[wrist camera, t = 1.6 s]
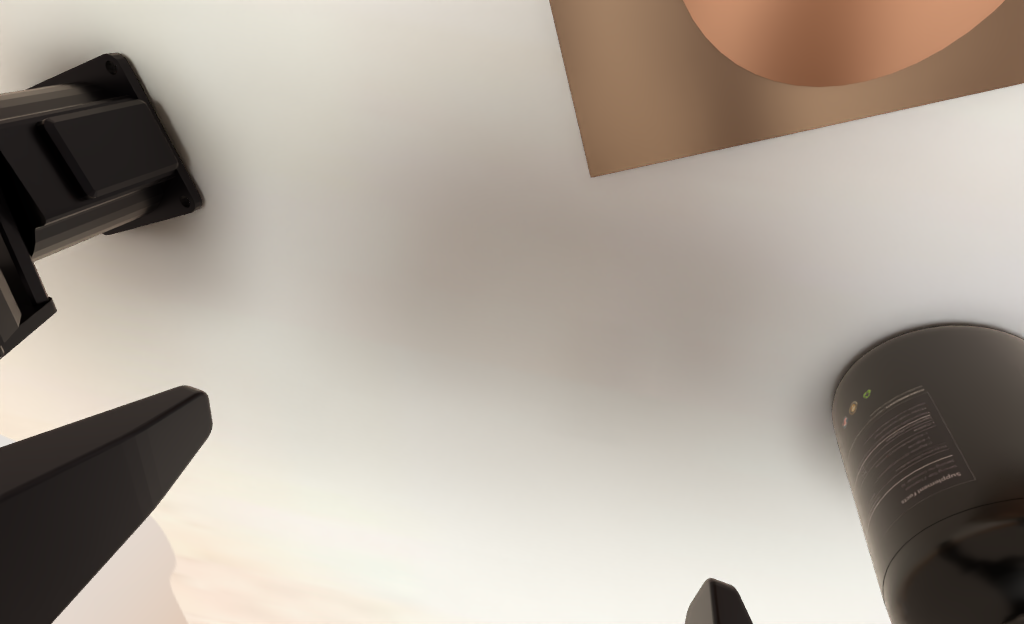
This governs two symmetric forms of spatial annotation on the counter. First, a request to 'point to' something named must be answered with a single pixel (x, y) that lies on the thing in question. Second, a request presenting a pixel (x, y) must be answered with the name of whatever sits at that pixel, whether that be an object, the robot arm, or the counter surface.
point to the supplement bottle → (940, 472)
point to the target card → (768, 67)
